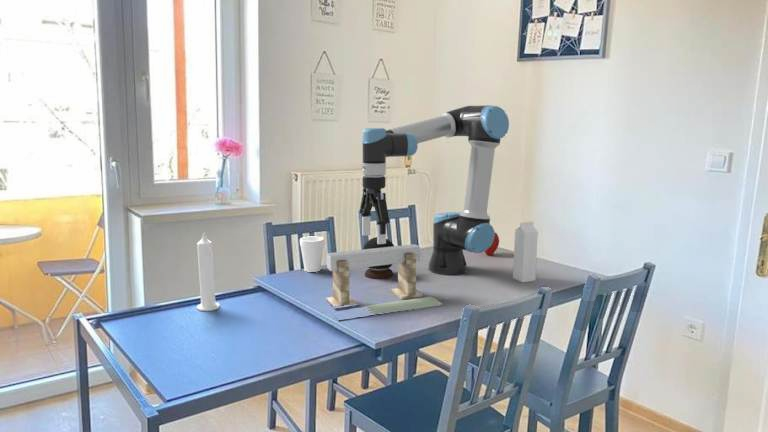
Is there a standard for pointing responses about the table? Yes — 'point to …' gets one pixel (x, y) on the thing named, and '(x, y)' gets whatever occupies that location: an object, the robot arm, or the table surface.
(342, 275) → the cradle posts
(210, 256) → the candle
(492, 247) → the apple
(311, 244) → the foam cup
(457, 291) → the table surface
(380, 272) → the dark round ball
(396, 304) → the mat
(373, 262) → the rail
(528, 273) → the milk
